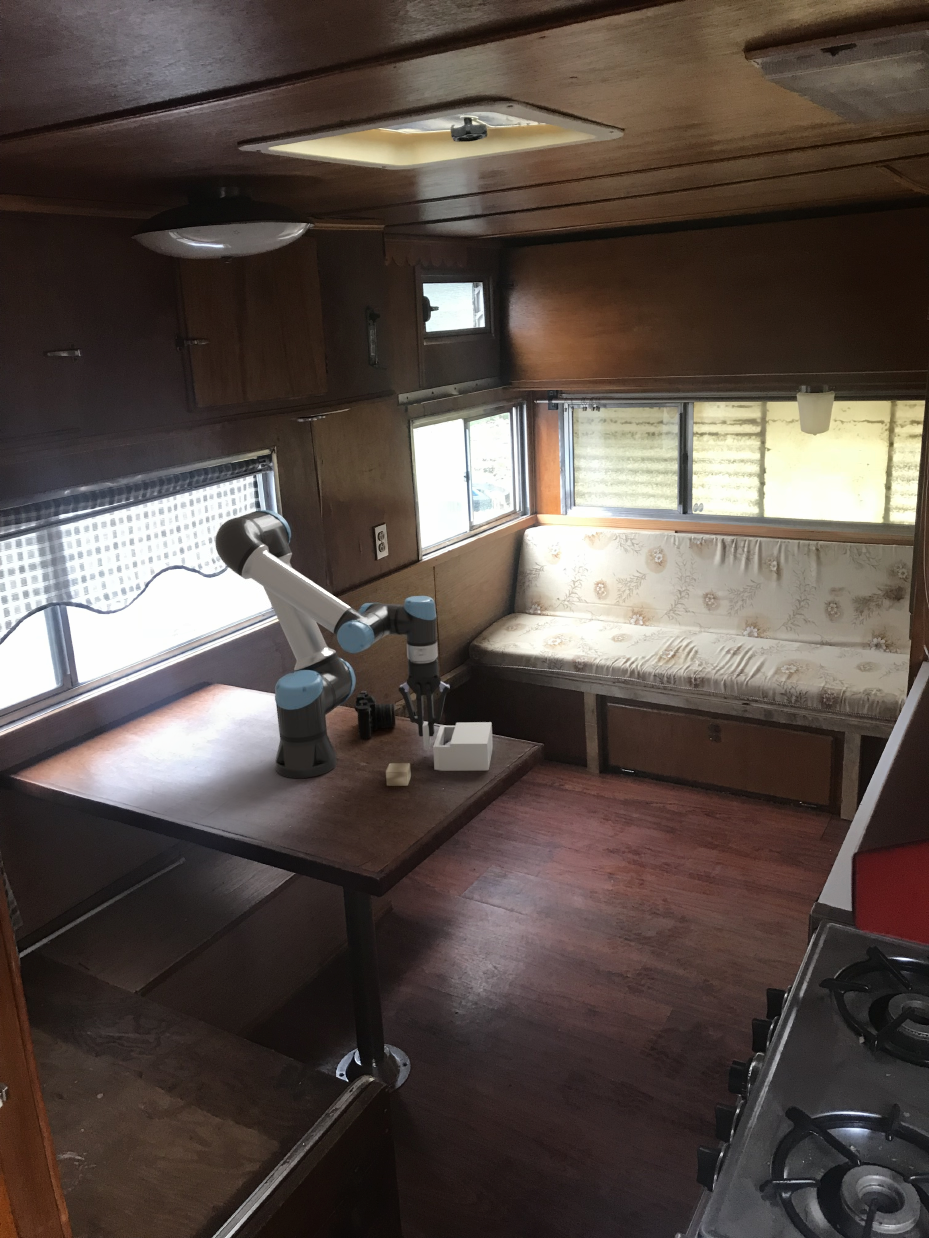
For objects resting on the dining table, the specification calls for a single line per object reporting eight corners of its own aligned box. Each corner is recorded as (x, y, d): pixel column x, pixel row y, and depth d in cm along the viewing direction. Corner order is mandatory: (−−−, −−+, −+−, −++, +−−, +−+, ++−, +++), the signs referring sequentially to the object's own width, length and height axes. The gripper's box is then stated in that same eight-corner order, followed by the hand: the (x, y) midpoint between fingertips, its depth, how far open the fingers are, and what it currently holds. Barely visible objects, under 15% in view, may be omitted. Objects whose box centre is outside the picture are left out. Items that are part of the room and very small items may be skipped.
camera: (395, 738, 263) (393, 703, 260) (355, 741, 263) (352, 705, 260) (396, 719, 276) (393, 685, 274) (358, 722, 276) (355, 688, 273)
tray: (432, 769, 241) (430, 746, 240) (439, 747, 255) (437, 725, 253) (482, 769, 240) (481, 746, 238) (487, 747, 253) (486, 725, 252)
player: (439, 770, 241) (437, 743, 239) (446, 748, 254) (444, 722, 253) (488, 770, 240) (487, 743, 238) (492, 747, 253) (491, 722, 251)
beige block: (386, 785, 234) (385, 771, 233) (390, 776, 239) (389, 763, 238) (407, 785, 234) (406, 771, 233) (410, 776, 238) (410, 763, 238)
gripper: (394, 663, 240) (399, 753, 247) (447, 663, 239) (451, 753, 245) (399, 654, 248) (404, 741, 254) (450, 654, 246) (454, 742, 253)
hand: (427, 747), depth 250 cm, fingers closed
